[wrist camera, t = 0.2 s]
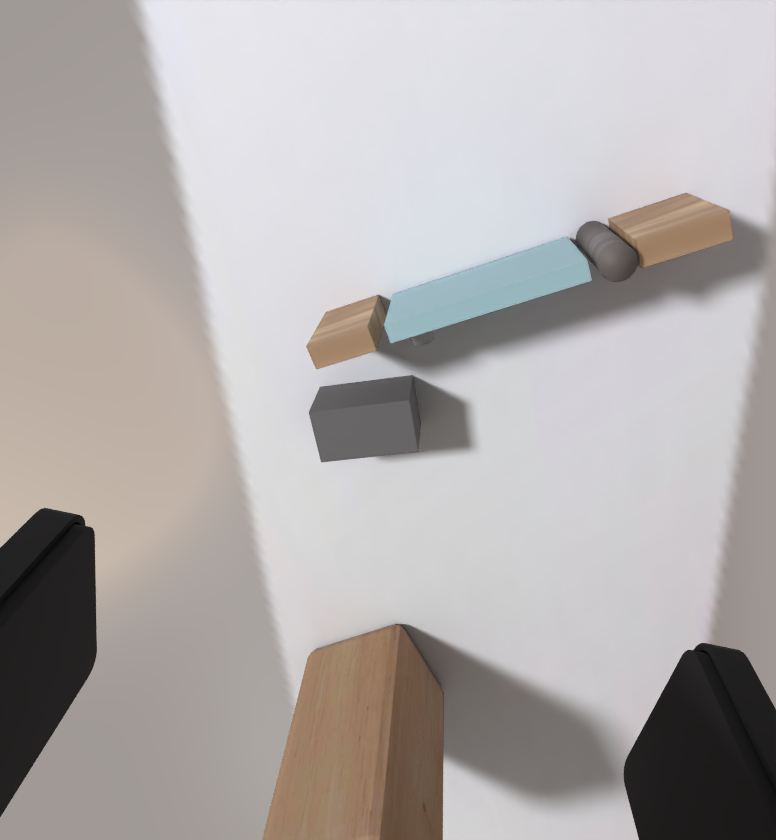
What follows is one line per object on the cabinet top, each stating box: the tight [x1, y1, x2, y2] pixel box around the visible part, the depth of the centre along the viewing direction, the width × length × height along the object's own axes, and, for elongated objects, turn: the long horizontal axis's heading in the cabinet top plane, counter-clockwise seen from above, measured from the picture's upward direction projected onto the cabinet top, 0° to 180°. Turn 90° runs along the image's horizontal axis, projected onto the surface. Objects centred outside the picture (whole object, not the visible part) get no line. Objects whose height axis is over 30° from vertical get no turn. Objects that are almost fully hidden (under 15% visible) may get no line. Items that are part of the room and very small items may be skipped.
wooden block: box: [262, 625, 444, 840], centre depth 52 cm, size 10×10×20 cm
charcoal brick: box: [309, 375, 421, 462], centre depth 47 cm, size 4×7×4 cm, turn 100°
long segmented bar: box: [306, 193, 733, 369], centre depth 40 cm, size 2×24×8 cm, turn 110°
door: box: [384, 237, 592, 346], centre depth 41 cm, size 12×3×7 cm, turn 110°
